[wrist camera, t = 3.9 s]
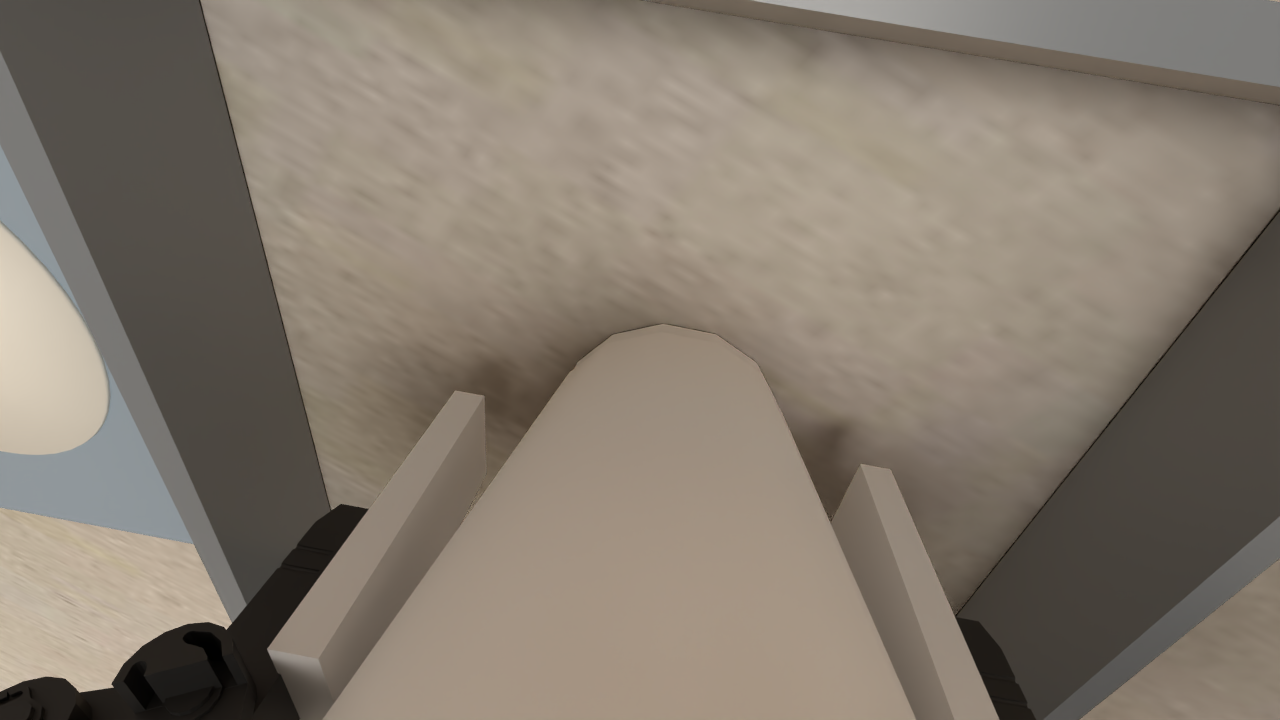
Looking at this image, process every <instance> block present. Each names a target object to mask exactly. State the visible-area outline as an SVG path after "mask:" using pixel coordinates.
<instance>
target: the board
mask: <svg viewBox="0 0 1280 720" xmlns="http://www.w3.org/2000/svg"><path fill="white" fill-rule="evenodd" d="M0 508H5V509H11V510H16V511H21V512H26V513H32V514H37V515H42V516H48V517H53V518H58V519H64V520H69V521H74V522H79V523H85V524H90V525H95V526H101V527H106V528H111V529H117V530H122V531H127V532H132V533H138V534H143V535H148V536H154V537H159V538H164V539H169V540H175V541H180V542H185V543H191V544H194V543H193V541H192V539H191V537H190V535H189V533H188V531H187V529H186V527H185V525H184V523H183V521H182V519H181V517H180V515H179V512H178V510H177V508H176V506H175V504H174V502H173V500H172V498H171V496H170V494H169V492H168V490H167V488H166V486H165V484H164V482H163V479H162V477H161V475H160V473H159V471H158V469H157V467H156V465H155V463H154V461H153V459H152V457H151V455H150V453H149V451H148V449H147V446H146V444H145V442H144V440H143V438H142V436H141V434H140V432H139V430H138V428H137V426H136V424H135V422H134V420H133V418H132V416H131V413H130V411H129V409H128V407H127V405H126V403H125V401H124V399H123V397H122V395H121V393H120V391H119V389H118V387H117V385H116V383H115V381H114V378H113V376H112V374H111V372H110V370H109V368H108V366H107V364H106V362H105V360H104V358H103V356H102V354H101V352H100V350H99V348H98V345H97V343H96V341H95V339H94V337H93V335H92V333H91V331H90V329H89V327H88V325H87V323H86V321H85V319H84V317H83V315H82V312H81V310H80V308H79V306H78V304H77V302H76V300H75V298H74V296H73V294H72V292H71V290H70V288H69V286H68V284H67V282H66V279H65V277H64V275H63V273H62V271H61V269H60V267H59V265H58V263H57V261H56V259H55V257H54V255H53V253H52V251H51V249H50V246H49V244H48V242H47V240H46V238H45V236H44V234H43V232H42V230H41V228H40V226H39V224H38V222H37V220H36V218H35V216H34V213H33V211H32V209H31V207H30V205H29V203H28V201H27V199H26V197H25V195H24V193H23V191H22V189H21V187H20V185H19V183H18V180H17V178H16V176H15V174H14V172H13V170H12V168H11V166H10V164H9V162H8V160H7V158H6V156H5V154H4V152H3V150H2V148H1V145H0Z"/></svg>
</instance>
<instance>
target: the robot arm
mask: <svg viewBox="0 0 1280 720" xmlns="http://www.w3.org/2000/svg"><path fill="white" fill-rule="evenodd" d="M486 474H487V472H486V430H485V396H483V395H478V394H472V393H467V392H461V391H456V390H455V391H454V393H453V394H452V395H451V397H450V398H449V400H448V401H447V402H446V404H445V405H444V406H443V408H442V409H441V411H440V412H439V413H438V415H437V416H436V417H435V419H434V420H433V422H432V423H431V424H430V426H429V427H428V428H427V430H426V431H425V433H424V434H423V435H422V437H421V438H420V439H419V441H418V442H417V444H416V445H415V446H414V448H413V449H412V450H411V452H410V453H409V455H408V456H407V457H406V459H405V460H404V461H403V463H402V464H401V466H400V467H399V468H398V470H397V471H396V472H395V474H394V475H393V477H392V478H391V479H390V481H389V482H388V483H387V485H386V486H385V488H384V489H383V490H382V492H381V493H380V494H379V496H378V497H377V499H376V500H375V501H374V503H373V504H372V505H371V507H370V508H369V509H365V508H360V507H354V506H349V505H344V504H340V505H339V506H337V507H336V508H335V509H333V510H332V511H330V512H329V513H327V514H326V515H324V516H323V517H322V518H320V519H319V520H317V521H316V522H315V523H314V524H313V525H312V526H311V528H310V529H309V530H308V531H307V533H306V534H305V535H304V536H303V537H302V539H301V540H300V541H299V542H298V544H297V547H296V548H295V549H293V550H292V551H291V552H290V553H289V555H288V556H287V557H286V558H285V559H284V561H283V562H282V563H281V567H280V568H277V569H276V570H275V572H274V573H273V574H272V575H271V576H270V578H269V579H268V580H267V581H266V583H265V584H264V585H263V586H262V587H261V589H260V590H259V591H258V592H257V594H256V595H255V596H254V597H253V598H252V600H251V601H250V602H249V603H248V604H247V606H246V607H245V608H244V609H243V611H242V612H241V613H240V614H239V615H238V617H237V618H236V619H235V620H234V622H233V623H232V624H231V625H230V626H229V628H228V629H227V630H226V629H225V628H224V627H222V626H219V625H216V624H213V623H209V622H205V623H194V624H187V625H184V626H181V627H178V628H175V629H173V630H170V631H167V632H165V633H163V634H161V635H160V636H158V637H157V638H155V639H153V640H152V641H150V642H148V643H147V644H145V645H144V646H142V647H141V648H140V649H139V650H138V651H137V652H136V653H135V654H134V655H133V656H132V657H131V658H130V659H129V660H128V661H126V662H125V663H124V664H123V666H122V668H121V669H120V671H119V673H118V674H117V676H116V677H115V679H114V681H113V682H112V685H113V687H114V688H108V689H101V690H95V691H88V692H81V693H79V692H78V691H77V690H76V688H75V687H74V686H72V685H71V684H70V683H69V682H68V681H67V680H66V679H63V678H55V677H43V678H38V679H33V680H28V681H24V682H21V683H19V684H17V685H14V686H12V687H10V688H8V689H5V690H3V691H1V692H0V720H323V718H324V717H325V715H326V714H327V712H328V711H329V710H330V708H331V707H332V705H333V704H334V703H335V701H336V700H337V698H338V697H339V696H340V694H341V693H342V691H343V690H344V689H345V687H346V686H347V684H348V683H349V682H350V680H351V679H352V677H353V676H354V674H355V673H356V672H357V670H358V669H359V667H360V666H361V665H362V663H363V662H364V660H365V659H366V658H367V656H368V655H369V653H370V652H371V651H372V649H373V648H374V646H375V645H376V644H377V642H378V641H379V639H380V638H381V636H382V635H383V634H384V632H385V631H386V629H387V628H388V627H389V625H390V624H391V622H392V621H393V620H394V618H395V617H396V615H397V614H398V613H399V611H400V610H401V608H402V607H403V606H404V604H405V603H406V601H407V600H408V598H409V597H410V596H411V594H412V593H413V591H414V590H415V589H416V587H417V586H418V584H419V583H420V582H421V580H422V579H423V577H424V576H425V575H426V573H427V572H428V570H429V569H430V568H431V566H432V565H433V563H434V562H435V560H436V559H437V558H438V556H439V555H440V553H441V552H442V551H443V549H444V548H445V546H446V545H447V544H448V542H449V541H450V539H451V538H452V537H453V535H454V534H455V532H456V531H457V530H458V528H459V527H460V525H461V523H462V521H463V519H464V517H465V515H466V513H467V511H468V509H469V507H470V505H471V503H472V501H473V500H474V498H475V496H476V494H477V492H478V490H479V488H480V486H481V484H482V482H483V480H484V478H485V476H486ZM831 526H832V528H833V530H834V532H835V535H836V537H837V539H838V542H839V544H840V546H841V548H842V551H843V553H844V555H845V558H846V560H847V562H848V565H849V567H850V569H851V571H852V574H853V576H854V578H855V581H856V583H857V585H858V587H859V590H860V592H861V594H862V597H863V599H864V601H865V603H866V606H867V608H868V610H869V613H870V615H871V617H872V619H873V622H874V624H875V626H876V629H877V631H878V633H879V635H880V638H881V640H882V642H883V645H884V647H885V649H886V652H887V654H888V656H889V658H890V661H891V663H892V665H893V668H894V670H895V672H896V674H897V677H898V679H899V681H900V684H901V686H902V688H903V690H904V693H905V695H906V697H907V700H908V702H909V704H910V706H911V709H912V711H913V713H914V716H915V718H916V720H1036V719H1035V717H1034V715H1033V712H1032V710H1031V709H1029V708H1028V707H1027V703H1028V702H1027V700H1026V698H1025V696H1024V694H1023V692H1022V690H1021V688H1020V686H1019V684H1017V683H1016V682H1015V676H1014V674H1013V672H1012V670H1011V667H1010V665H1009V663H1008V661H1007V659H1006V657H1005V655H1004V653H1003V651H1002V649H1001V648H1000V646H999V645H998V644H997V643H996V642H995V640H994V639H993V638H992V637H991V636H990V634H989V633H988V632H987V631H986V630H985V628H984V627H983V626H982V625H981V623H980V622H979V621H974V620H969V619H964V618H958V617H955V616H954V614H953V611H952V609H951V607H950V605H949V602H948V600H947V598H946V595H945V593H944V591H943V588H942V586H941V584H940V582H939V579H938V577H937V575H936V572H935V570H934V568H933V565H932V563H931V561H930V559H929V556H928V554H927V552H926V549H925V547H924V545H923V542H922V540H921V538H920V536H919V533H918V531H917V529H916V526H915V524H914V522H913V519H912V517H911V515H910V513H909V510H908V508H907V506H906V503H905V501H904V499H903V496H902V494H901V492H900V490H899V487H898V485H897V483H896V480H895V478H894V476H893V473H892V471H891V469H887V468H882V467H876V466H871V465H865V464H860V465H859V467H858V469H857V471H856V473H855V475H854V477H853V479H852V481H851V483H850V485H849V487H848V489H847V491H846V493H845V495H844V497H843V499H842V501H841V503H840V505H839V507H838V509H837V511H836V513H835V515H834V517H833V519H832V521H831Z"/></svg>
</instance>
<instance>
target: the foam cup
mask: <svg viewBox="0 0 1280 720" xmlns="http://www.w3.org/2000/svg"><path fill="white" fill-rule="evenodd" d="M323 720H916V718H915V716H914V713H913V711H912V709H911V706H910V704H909V702H908V700H907V697H906V695H905V693H904V690H903V688H902V686H901V684H900V681H899V679H898V677H897V674H896V672H895V670H894V668H893V665H892V663H891V661H890V658H889V656H888V654H887V652H886V649H885V647H884V645H883V642H882V640H881V638H880V635H879V633H878V631H877V629H876V626H875V624H874V622H873V619H872V617H871V615H870V613H869V610H868V608H867V606H866V603H865V601H864V599H863V597H862V594H861V592H860V590H859V587H858V585H857V583H856V581H855V578H854V576H853V574H852V571H851V569H850V567H849V565H848V562H847V560H846V558H845V555H844V553H843V551H842V548H841V546H840V544H839V542H838V539H837V537H836V535H835V532H834V530H833V528H832V526H831V523H830V521H829V519H828V516H827V514H826V512H825V510H824V507H823V505H822V503H821V500H820V498H819V496H818V494H817V491H816V489H815V487H814V484H813V482H812V480H811V478H810V475H809V473H808V471H807V468H806V466H805V464H804V461H803V459H802V457H801V455H800V452H799V450H798V448H797V445H796V443H795V441H794V439H793V436H792V434H791V432H790V429H789V427H788V425H787V423H786V420H785V418H784V416H783V414H782V412H781V410H780V408H779V406H778V404H777V401H776V399H775V397H774V395H773V393H772V391H771V389H770V388H769V386H768V384H767V382H766V380H765V378H764V376H763V374H762V372H761V370H760V368H759V366H758V364H757V363H756V362H755V361H754V360H752V359H751V358H749V357H748V356H746V355H745V354H744V353H742V352H741V351H739V350H738V349H736V348H735V347H734V346H732V345H731V344H729V343H728V342H726V341H725V340H723V339H722V338H721V337H719V336H718V335H716V334H713V333H708V332H702V331H697V330H692V329H687V328H682V327H677V326H672V325H667V324H660V325H655V326H651V327H646V328H641V329H637V330H632V331H627V332H622V333H618V334H613V335H612V336H610V337H609V338H608V339H606V340H605V341H604V342H603V343H601V344H600V345H599V346H597V347H596V348H595V349H594V350H592V351H591V352H590V353H588V354H587V355H586V356H585V357H583V358H582V359H581V360H579V361H578V362H577V364H576V366H575V368H574V369H573V370H572V371H571V372H569V373H568V375H567V376H566V378H565V379H564V380H563V382H562V383H561V385H560V386H559V387H558V389H557V390H556V392H555V393H554V394H553V396H552V397H551V399H550V400H549V401H548V403H547V404H546V406H545V407H544V409H543V410H542V411H541V413H540V414H539V416H538V417H537V418H536V420H535V421H534V423H533V424H532V425H531V427H530V428H529V430H528V431H527V432H526V434H525V435H524V437H523V438H522V439H521V441H520V442H519V444H518V445H517V447H516V448H515V449H514V451H513V452H512V454H511V455H510V456H509V458H508V459H507V461H506V462H505V463H504V465H503V466H502V468H501V469H500V470H499V472H498V473H497V475H496V476H495V477H494V479H493V480H492V482H491V483H490V485H489V486H488V487H487V489H486V490H485V492H484V493H483V494H482V496H481V497H480V499H479V500H478V501H477V503H476V504H475V506H474V507H473V508H472V510H471V511H470V513H469V514H468V515H467V517H466V518H465V520H464V521H463V522H462V524H461V525H460V527H459V528H458V530H457V531H456V532H455V534H454V535H453V537H452V538H451V539H450V541H449V542H448V544H447V545H446V546H445V548H444V549H443V551H442V552H441V553H440V555H439V556H438V558H437V559H436V560H435V562H434V563H433V565H432V566H431V568H430V569H429V570H428V572H427V573H426V575H425V576H424V577H423V579H422V580H421V582H420V583H419V584H418V586H417V587H416V589H415V590H414V591H413V593H412V594H411V596H410V597H409V598H408V600H407V601H406V603H405V604H404V606H403V607H402V608H401V610H400V611H399V613H398V614H397V615H396V617H395V618H394V620H393V621H392V622H391V624H390V625H389V627H388V628H387V629H386V631H385V632H384V634H383V635H382V636H381V638H380V639H379V641H378V642H377V644H376V645H375V646H374V648H373V649H372V651H371V652H370V653H369V655H368V656H367V658H366V659H365V660H364V662H363V663H362V665H361V666H360V667H359V669H358V670H357V672H356V673H355V674H354V676H353V677H352V679H351V680H350V682H349V683H348V684H347V686H346V687H345V689H344V690H343V691H342V693H341V694H340V696H339V697H338V698H337V700H336V701H335V703H334V704H333V705H332V707H331V708H330V710H329V711H328V712H327V714H326V715H325V717H324V718H323Z"/></svg>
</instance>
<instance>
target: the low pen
mask: <svg viewBox="0 0 1280 720" xmlns="http://www.w3.org/2000/svg"><path fill="white" fill-rule="evenodd" d="M643 1H649V2H655V3H661V4H667V5H673V6H679V7H685V8H691V9H697V10H703V11H709V12H716V13H722V14H728V15H734V16H740V17H746V18H752V19H758V20H764V21H770V22H776V23H782V24H788V25H795V26H801V27H807V28H813V29H819V30H825V31H831V32H837V33H843V34H849V35H855V36H861V37H868V38H874V39H880V40H886V41H892V42H898V43H904V44H910V45H916V46H922V47H928V48H934V49H940V50H947V51H953V52H959V53H965V54H971V55H977V56H983V57H989V58H995V59H1001V60H1007V61H1013V62H1020V63H1026V64H1032V65H1038V66H1044V67H1050V68H1056V69H1062V70H1068V71H1074V72H1080V73H1086V74H1092V75H1099V76H1105V77H1111V78H1117V79H1123V80H1129V81H1135V82H1141V83H1147V84H1153V85H1159V86H1165V87H1172V88H1178V89H1184V90H1190V91H1196V92H1202V93H1208V94H1214V95H1220V96H1226V97H1232V98H1238V99H1244V100H1251V101H1257V102H1263V103H1269V104H1275V105H1280V2H1275V1H1269V0H643ZM0 145H1V148H2V150H3V152H4V154H5V156H6V158H7V160H8V162H9V164H10V166H11V168H12V170H13V172H14V174H15V176H16V178H17V180H18V183H19V185H20V187H21V189H22V191H23V193H24V195H25V197H26V199H27V201H28V203H29V205H30V207H31V209H32V211H33V213H34V216H35V218H36V220H37V222H38V224H39V226H40V228H41V230H42V232H43V234H44V236H45V238H46V240H47V242H48V244H49V246H50V249H51V251H52V253H53V255H54V257H55V259H56V261H57V263H58V265H59V267H60V269H61V271H62V273H63V275H64V277H65V279H66V282H67V284H68V286H69V288H70V290H71V292H72V294H73V296H74V298H75V300H76V302H77V304H78V306H79V308H80V310H81V312H82V315H83V317H84V319H85V321H86V323H87V325H88V327H89V329H90V331H91V333H92V335H93V337H94V339H95V341H96V343H97V345H98V348H99V350H100V352H101V354H102V356H103V358H104V360H105V362H106V364H107V366H108V368H109V370H110V372H111V374H112V376H113V378H114V381H115V383H116V385H117V387H118V389H119V391H120V393H121V395H122V397H123V399H124V401H125V403H126V405H127V407H128V409H129V411H130V413H131V416H132V418H133V420H134V422H135V424H136V426H137V428H138V430H139V432H140V434H141V436H142V438H143V440H144V442H145V444H146V446H147V449H148V451H149V453H150V455H151V457H152V459H153V461H154V463H155V465H156V467H157V469H158V471H159V473H160V475H161V477H162V479H163V482H164V484H165V486H166V488H167V490H168V492H169V494H170V496H171V498H172V500H173V502H174V504H175V506H176V508H177V510H178V512H179V515H180V517H181V519H182V521H183V523H184V525H185V527H186V529H187V531H188V533H189V535H190V537H191V539H192V541H193V543H194V545H195V548H196V550H197V552H198V554H199V556H200V558H201V560H202V562H203V564H204V566H205V568H206V570H207V572H208V574H209V576H210V578H211V581H212V583H213V585H214V587H215V589H216V591H217V593H218V595H219V597H220V599H221V601H222V603H223V605H224V607H225V609H226V611H227V614H228V616H229V618H230V620H231V622H232V623H233V622H234V620H235V619H236V618H237V617H238V615H239V614H240V613H241V612H242V611H243V609H244V608H245V607H246V606H247V604H248V603H249V602H250V601H251V600H252V598H253V597H254V596H255V595H256V594H257V592H258V591H259V590H260V589H261V587H262V586H263V585H264V584H265V583H266V581H267V580H268V579H269V578H270V576H271V575H272V574H273V573H274V572H275V570H276V569H277V568H280V567H281V563H282V562H283V561H284V559H285V558H286V557H287V556H288V555H289V553H290V552H291V551H292V550H293V549H295V548H296V547H297V544H298V542H299V541H300V540H301V539H302V537H303V536H304V535H305V534H306V533H307V531H308V530H309V529H310V528H311V526H312V525H313V524H314V523H315V522H316V521H317V520H319V519H320V518H322V517H323V516H324V515H326V514H327V513H329V512H330V507H329V504H328V500H327V496H326V492H325V488H324V484H323V480H322V476H321V473H320V469H319V465H318V461H317V457H316V453H315V449H314V445H313V442H312V438H311V434H310V430H309V426H308V422H307V418H306V414H305V410H304V407H303V403H302V399H301V395H300V391H299V387H298V383H297V379H296V376H295V372H294V368H293V364H292V360H291V356H290V352H289V348H288V345H287V341H286V337H285V333H284V329H283V325H282V321H281V317H280V314H279V310H278V306H277V302H276V298H275V294H274V290H273V286H272V282H271V279H270V275H269V271H268V267H267V263H266V259H265V255H264V251H263V248H262V244H261V240H260V236H259V232H258V228H257V224H256V220H255V217H254V213H253V209H252V205H251V201H250V197H249V193H248V189H247V186H246V182H245V178H244V174H243V170H242V166H241V162H240V158H239V154H238V151H237V147H236V143H235V139H234V135H233V131H232V127H231V123H230V120H229V116H228V112H227V108H226V104H225V100H224V96H223V92H222V89H221V85H220V81H219V77H218V73H217V69H216V65H215V61H214V57H213V54H212V50H211V46H210V42H209V38H208V34H207V30H206V26H205V23H204V19H203V15H202V11H201V7H200V3H199V0H0ZM1279 558H1280V212H1279V213H1278V214H1277V215H1276V217H1275V218H1274V219H1273V221H1272V222H1271V223H1270V224H1269V226H1268V227H1267V228H1266V229H1265V231H1264V232H1263V233H1262V234H1261V236H1260V237H1259V238H1258V239H1257V241H1256V242H1255V243H1254V244H1253V246H1252V247H1251V248H1250V249H1249V251H1248V252H1247V253H1246V254H1245V256H1244V257H1243V258H1242V259H1241V261H1240V262H1239V263H1238V264H1237V266H1236V267H1235V268H1234V269H1233V271H1232V272H1231V273H1230V274H1229V276H1228V277H1227V278H1226V279H1225V281H1224V282H1223V283H1222V284H1221V286H1220V287H1219V288H1218V289H1217V291H1216V292H1215V293H1214V294H1213V296H1212V297H1211V298H1210V299H1209V301H1208V302H1207V303H1206V304H1205V306H1204V307H1203V308H1202V309H1201V311H1200V312H1199V313H1198V314H1197V316H1196V317H1195V318H1194V319H1193V321H1192V322H1191V323H1190V324H1189V326H1188V327H1187V328H1186V329H1185V331H1184V332H1183V333H1182V334H1181V336H1180V337H1179V338H1178V339H1177V341H1176V342H1175V343H1174V344H1173V346H1172V347H1171V348H1170V349H1169V351H1168V352H1167V353H1166V354H1165V356H1164V357H1163V358H1162V359H1161V361H1160V362H1159V363H1158V364H1157V366H1156V367H1155V368H1154V369H1153V371H1152V372H1151V373H1150V374H1149V376H1148V377H1147V378H1146V379H1145V381H1144V382H1143V383H1142V384H1141V386H1140V387H1139V388H1138V389H1137V391H1136V392H1135V393H1134V394H1133V396H1132V397H1131V398H1130V399H1129V401H1128V402H1127V403H1126V404H1125V406H1124V407H1123V408H1122V409H1121V411H1120V412H1119V413H1118V414H1117V416H1116V417H1115V418H1114V419H1113V421H1112V422H1111V423H1110V424H1109V426H1108V427H1107V428H1106V429H1105V431H1104V432H1103V433H1102V435H1101V436H1100V437H1099V438H1098V440H1097V441H1096V442H1095V443H1094V445H1093V446H1092V447H1091V448H1090V450H1089V451H1088V452H1087V453H1086V455H1085V456H1084V457H1083V458H1082V460H1081V461H1080V462H1079V463H1078V465H1077V466H1076V467H1075V468H1074V470H1073V471H1072V472H1071V473H1070V475H1069V476H1068V477H1067V478H1066V480H1065V481H1064V482H1063V483H1062V485H1061V486H1060V487H1059V488H1058V490H1057V491H1056V492H1055V493H1054V495H1053V496H1052V497H1051V498H1050V500H1049V501H1048V502H1047V503H1046V505H1045V506H1044V507H1043V508H1042V510H1041V511H1040V512H1039V513H1038V515H1037V516H1036V517H1035V518H1034V520H1033V521H1032V522H1031V523H1030V525H1029V526H1028V527H1027V528H1026V530H1025V531H1024V532H1023V533H1022V535H1021V536H1020V537H1019V538H1018V540H1017V541H1016V542H1015V543H1014V545H1013V546H1012V547H1011V548H1010V550H1009V551H1008V552H1007V553H1006V555H1005V556H1004V557H1003V558H1002V560H1001V561H1000V562H999V563H998V565H997V566H996V567H995V568H994V570H993V571H992V572H991V573H990V575H989V576H988V577H987V578H986V580H985V581H984V582H983V583H982V585H981V586H980V587H979V588H978V590H977V591H976V592H975V593H974V595H973V596H972V597H971V598H970V600H969V601H968V602H967V603H966V605H965V606H964V607H963V608H962V610H961V611H960V612H959V613H958V615H957V616H956V617H958V618H964V619H969V620H974V621H979V622H980V623H981V625H982V626H983V627H984V628H985V630H986V631H987V632H988V633H989V634H990V636H991V637H992V638H993V639H994V640H995V642H996V643H997V644H998V645H999V646H1000V648H1001V649H1002V651H1003V653H1004V655H1005V657H1006V659H1007V661H1008V663H1009V665H1010V667H1011V670H1012V672H1013V674H1014V676H1015V682H1016V683H1017V684H1019V686H1020V688H1021V690H1022V692H1023V694H1024V696H1025V698H1026V700H1027V702H1028V703H1027V707H1028V708H1029V709H1031V710H1032V712H1033V715H1034V717H1035V719H1036V720H1079V719H1081V718H1082V717H1083V716H1084V715H1086V714H1087V713H1088V712H1089V711H1091V710H1092V709H1093V708H1094V707H1095V706H1097V705H1098V704H1099V703H1100V702H1102V701H1103V700H1104V699H1105V698H1107V697H1108V696H1109V695H1110V694H1112V693H1113V692H1114V691H1115V690H1117V689H1118V688H1119V687H1120V686H1122V685H1123V684H1124V683H1125V682H1127V681H1128V680H1129V679H1130V678H1132V677H1133V676H1134V675H1135V674H1137V673H1138V672H1139V671H1140V670H1141V669H1143V668H1144V667H1145V666H1146V665H1148V664H1149V663H1150V662H1151V661H1153V660H1154V659H1155V658H1156V657H1158V656H1159V655H1160V654H1161V653H1163V652H1164V651H1165V650H1166V649H1168V648H1169V647H1170V646H1171V645H1173V644H1174V643H1175V642H1176V641H1178V640H1179V639H1180V638H1181V637H1182V636H1184V635H1185V634H1186V633H1187V632H1189V631H1190V630H1191V629H1192V628H1194V627H1195V626H1196V625H1197V624H1199V623H1200V622H1201V621H1202V620H1204V619H1205V618H1206V617H1207V616H1209V615H1210V614H1211V613H1212V612H1214V611H1215V610H1216V609H1217V608H1219V607H1220V606H1221V605H1222V604H1224V603H1225V602H1226V601H1227V600H1228V599H1230V598H1231V597H1232V596H1233V595H1235V594H1236V593H1237V592H1238V591H1240V590H1241V589H1242V588H1243V587H1245V586H1246V585H1247V584H1248V583H1250V582H1251V581H1252V580H1253V579H1255V578H1256V577H1257V576H1258V575H1260V574H1261V573H1262V572H1263V571H1265V570H1266V569H1267V568H1268V567H1269V566H1271V565H1272V564H1273V563H1274V562H1276V561H1277V560H1278V559H1279Z"/></svg>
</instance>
